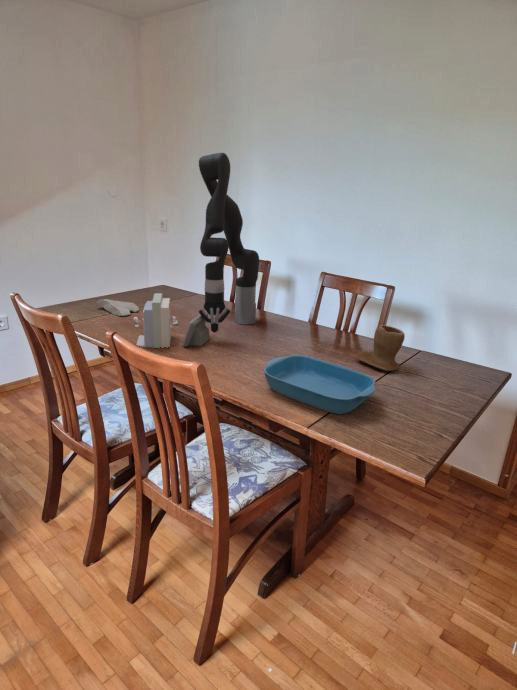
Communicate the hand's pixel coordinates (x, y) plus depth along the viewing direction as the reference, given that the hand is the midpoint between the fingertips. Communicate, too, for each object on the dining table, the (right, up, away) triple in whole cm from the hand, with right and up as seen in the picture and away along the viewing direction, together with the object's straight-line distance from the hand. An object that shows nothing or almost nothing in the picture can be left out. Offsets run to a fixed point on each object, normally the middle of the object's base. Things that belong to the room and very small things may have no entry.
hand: (214, 331), depth 181 cm
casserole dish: (+36, -21, -38) cm, 57 cm away
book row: (-24, -4, -1) cm, 24 cm away
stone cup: (+63, -13, -15) cm, 66 cm away
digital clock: (-8, -4, +1) cm, 9 cm away
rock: (-49, +11, +37) cm, 62 cm away
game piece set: (-28, +4, +20) cm, 35 cm away
